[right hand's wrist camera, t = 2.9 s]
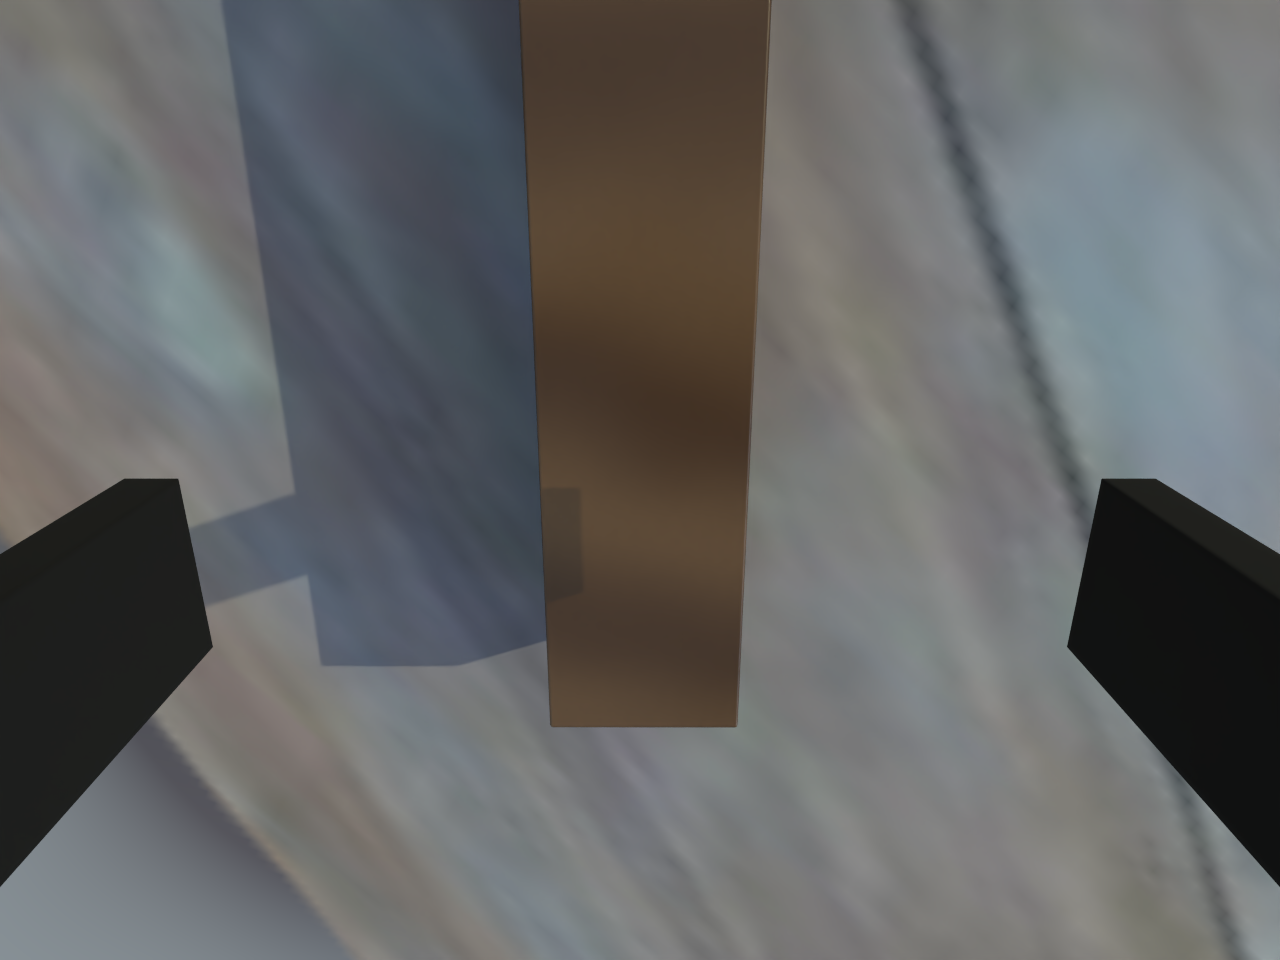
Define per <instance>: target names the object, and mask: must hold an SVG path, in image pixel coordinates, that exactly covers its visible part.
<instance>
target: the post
mask: <svg viewBox="0 0 1280 960" xmlns="http://www.w3.org/2000/svg"><path fill="white" fill-rule="evenodd" d="M519 20H520V43H521V66H522V89H523V112H524V134H525V157H526V180H527V203H528V226H529V249H530V272H531V295H532V317H533V340H534V363H535V386H536V409H537V432H538V455H539V478H540V500H541V523H542V546H543V569H544V592H545V615H546V638H547V661H548V683H549V706H550V725H551V727H737V722H738V701H739V680H740V659H741V638H742V616H743V595H744V574H745V553H746V531H747V510H748V489H749V468H750V446H751V425H752V404H753V383H754V361H755V340H756V319H757V298H758V276H759V255H760V234H761V213H762V191H763V170H764V149H765V128H766V106H767V85H768V64H769V43H770V22H771V0H519Z"/></svg>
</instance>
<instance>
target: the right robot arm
mask: <svg viewBox="0 0 1280 960" xmlns="http://www.w3.org/2000/svg"><path fill="white" fill-rule="evenodd" d="M212 647H213V645H212V640H211V636H210V631H209V626H208V621H207V616H206V611H205V606H204V601H203V597H202V592H201V587H200V582H199V577H198V572H197V567H196V563H195V558H194V553H193V548H192V543H191V538H190V533H189V529H188V524H187V519H186V514H185V509H184V504H183V499H182V494H181V490H180V485H179V480H178V479H123V480H122V481H120V482H118V483H117V484H115V485H113V486H112V487H110V488H108V489H107V490H105V491H103V492H102V493H100V494H99V495H97V496H95V497H94V498H92V499H90V500H89V501H87V502H85V503H84V504H82V505H80V506H79V507H77V508H75V509H74V510H72V511H71V512H69V513H67V514H66V515H64V516H62V517H61V518H59V519H57V520H56V521H54V522H52V523H51V524H49V525H48V526H46V527H44V528H43V529H41V530H39V531H38V532H36V533H34V534H33V535H31V536H29V537H28V538H26V539H25V540H23V541H21V542H20V543H18V544H16V545H15V546H13V547H11V548H10V549H8V550H6V551H5V552H3V553H2V554H0V886H1V885H2V884H3V883H4V882H5V881H6V880H7V879H8V877H9V876H10V875H11V874H12V873H13V872H14V871H15V869H16V868H17V867H18V866H19V865H20V864H21V863H22V862H23V861H24V859H25V858H26V857H27V856H28V855H29V854H30V853H31V851H32V850H33V849H34V848H35V847H36V846H37V845H38V844H39V842H40V841H41V840H42V839H43V838H44V837H45V836H46V835H47V833H48V832H49V831H50V830H51V829H52V828H53V827H54V825H55V824H56V823H57V822H58V821H59V820H60V819H61V818H62V816H63V815H64V814H65V813H66V812H67V811H68V810H69V809H70V807H71V806H72V805H73V804H74V803H75V802H76V801H77V800H78V798H79V797H80V796H81V795H82V794H83V793H84V792H85V791H86V789H87V788H88V787H89V786H90V785H91V784H92V783H93V782H94V780H95V779H96V778H97V777H98V776H99V775H100V774H101V772H102V771H103V770H104V769H105V768H106V767H107V766H108V765H109V763H110V762H111V761H112V760H113V759H114V758H115V757H116V756H117V754H118V753H119V752H120V751H121V750H122V749H123V748H124V747H125V745H126V744H127V743H128V742H129V741H130V740H131V739H132V738H133V736H134V735H135V734H136V733H137V732H138V731H139V730H140V729H141V727H142V726H143V725H144V724H145V723H146V722H147V721H148V719H149V718H150V717H151V716H152V715H153V714H154V713H155V712H156V710H157V709H158V708H159V707H160V706H161V705H162V704H163V703H164V701H165V700H166V699H167V698H168V697H169V696H170V695H171V694H172V692H173V691H174V690H175V689H176V688H177V687H178V686H179V685H180V683H181V682H182V681H183V680H184V679H185V678H186V677H187V675H188V674H189V673H190V672H191V671H192V670H193V669H194V668H195V666H196V665H197V664H198V663H199V662H200V661H201V660H202V659H203V657H204V656H205V655H206V654H207V653H208V652H209V651H210V650H211V648H212ZM1067 647H1068V648H1069V650H1070V651H1071V652H1072V653H1073V654H1074V655H1075V656H1076V657H1077V659H1078V660H1079V661H1080V662H1081V663H1082V664H1083V665H1084V666H1085V668H1086V669H1087V670H1088V671H1089V672H1090V673H1091V674H1092V675H1093V677H1094V678H1095V679H1096V680H1097V681H1098V682H1099V683H1100V685H1101V686H1102V687H1103V688H1104V689H1105V690H1106V691H1107V692H1108V694H1109V695H1110V696H1111V697H1112V698H1113V699H1114V700H1115V701H1116V703H1117V704H1118V705H1119V706H1120V707H1121V708H1122V709H1123V710H1124V712H1125V713H1126V714H1127V715H1128V716H1129V717H1130V718H1131V719H1132V721H1133V722H1134V723H1135V724H1136V725H1137V726H1138V727H1139V729H1140V730H1141V731H1142V732H1143V733H1144V734H1145V735H1146V736H1147V738H1148V739H1149V740H1150V741H1151V742H1152V743H1153V744H1154V745H1155V747H1156V748H1157V749H1158V750H1159V751H1160V752H1161V753H1162V754H1163V756H1164V757H1165V758H1166V759H1167V760H1168V761H1169V762H1170V763H1171V765H1172V766H1173V767H1174V768H1175V769H1176V770H1177V771H1178V773H1179V774H1180V775H1181V776H1182V777H1183V778H1184V779H1185V780H1186V782H1187V783H1188V784H1189V785H1190V786H1191V787H1192V788H1193V789H1194V791H1195V792H1196V793H1197V794H1198V795H1199V796H1200V797H1201V798H1202V800H1203V801H1204V802H1205V803H1206V804H1207V805H1208V806H1209V807H1210V809H1211V810H1212V811H1213V812H1214V813H1215V814H1216V815H1217V817H1218V818H1219V819H1220V820H1221V821H1222V822H1223V823H1224V824H1225V826H1226V827H1227V828H1228V829H1229V830H1230V831H1231V832H1232V833H1233V835H1234V836H1235V837H1236V838H1237V839H1238V840H1239V841H1240V842H1241V844H1242V845H1243V846H1244V847H1245V848H1246V849H1247V850H1248V851H1249V853H1250V854H1251V855H1252V856H1253V857H1254V858H1255V859H1256V861H1257V862H1258V863H1259V864H1260V865H1261V866H1262V867H1263V868H1264V870H1265V871H1266V872H1267V873H1268V874H1269V875H1270V876H1271V877H1272V879H1273V880H1274V881H1275V882H1276V883H1277V884H1278V885H1279V886H1280V554H1278V553H1277V552H1275V551H1274V550H1272V549H1270V548H1269V547H1267V546H1265V545H1264V544H1262V543H1260V542H1259V541H1257V540H1255V539H1254V538H1252V537H1251V536H1249V535H1247V534H1246V533H1244V532H1242V531H1241V530H1239V529H1237V528H1236V527H1234V526H1232V525H1231V524H1229V523H1228V522H1226V521H1224V520H1223V519H1221V518H1219V517H1218V516H1216V515H1214V514H1213V513H1211V512H1209V511H1208V510H1206V509H1204V508H1203V507H1201V506H1200V505H1198V504H1196V503H1195V502H1193V501H1191V500H1190V499H1188V498H1186V497H1185V496H1183V495H1181V494H1180V493H1178V492H1177V491H1175V490H1173V489H1172V488H1170V487H1168V486H1167V485H1165V484H1163V483H1162V482H1160V481H1158V480H1157V479H1102V480H1101V485H1100V490H1099V494H1098V499H1097V504H1096V509H1095V514H1094V519H1093V524H1092V529H1091V533H1090V538H1089V543H1088V548H1087V553H1086V558H1085V563H1084V567H1083V572H1082V577H1081V582H1080V587H1079V592H1078V597H1077V601H1076V606H1075V611H1074V616H1073V621H1072V626H1071V631H1070V636H1069V640H1068V645H1067Z"/></svg>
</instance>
